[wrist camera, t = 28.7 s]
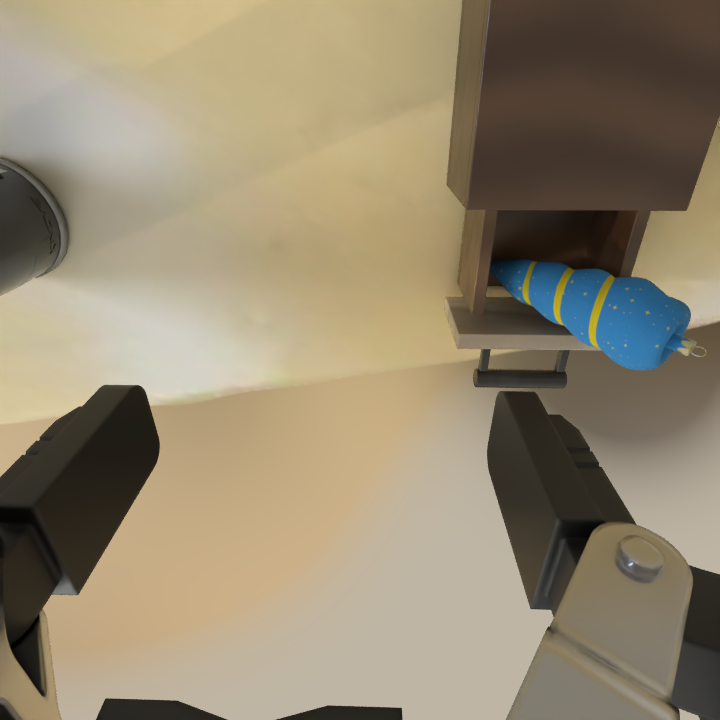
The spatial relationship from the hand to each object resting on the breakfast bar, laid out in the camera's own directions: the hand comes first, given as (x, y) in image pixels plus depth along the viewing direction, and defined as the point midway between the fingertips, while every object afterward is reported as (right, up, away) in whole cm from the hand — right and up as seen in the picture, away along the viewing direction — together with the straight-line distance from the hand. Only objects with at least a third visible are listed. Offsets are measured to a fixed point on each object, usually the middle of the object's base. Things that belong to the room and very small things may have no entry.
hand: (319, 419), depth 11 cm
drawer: (+14, +9, +26) cm, 30 cm away
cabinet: (+14, +21, +20) cm, 32 cm away
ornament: (+11, +9, +24) cm, 28 cm away
